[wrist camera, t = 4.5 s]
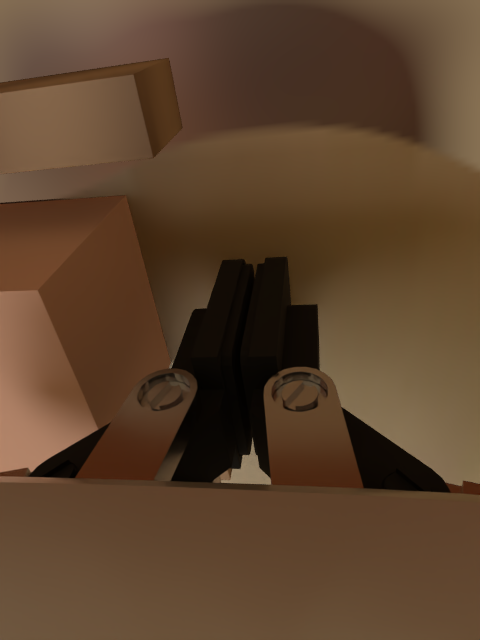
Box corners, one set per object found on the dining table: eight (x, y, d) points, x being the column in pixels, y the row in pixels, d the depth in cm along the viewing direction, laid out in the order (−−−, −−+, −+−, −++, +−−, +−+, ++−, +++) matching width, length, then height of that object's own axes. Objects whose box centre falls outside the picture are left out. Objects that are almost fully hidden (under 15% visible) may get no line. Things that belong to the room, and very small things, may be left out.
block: (127, 193, 12) (37, 289, 8) (171, 360, 16) (122, 485, 12) (-62, 207, 14) (-222, 298, 10) (17, 360, 17) (-75, 475, 13)
